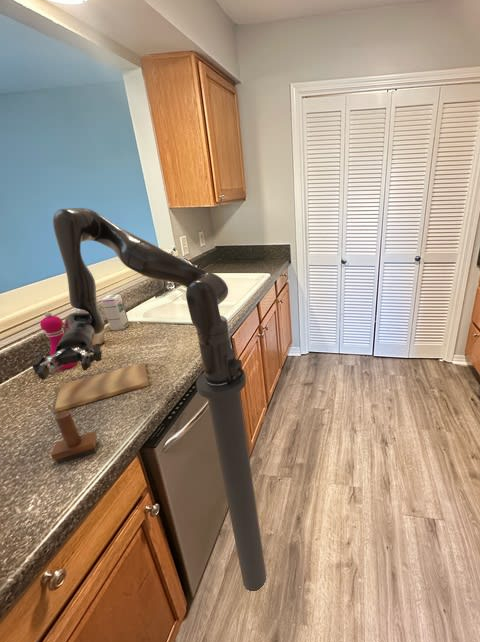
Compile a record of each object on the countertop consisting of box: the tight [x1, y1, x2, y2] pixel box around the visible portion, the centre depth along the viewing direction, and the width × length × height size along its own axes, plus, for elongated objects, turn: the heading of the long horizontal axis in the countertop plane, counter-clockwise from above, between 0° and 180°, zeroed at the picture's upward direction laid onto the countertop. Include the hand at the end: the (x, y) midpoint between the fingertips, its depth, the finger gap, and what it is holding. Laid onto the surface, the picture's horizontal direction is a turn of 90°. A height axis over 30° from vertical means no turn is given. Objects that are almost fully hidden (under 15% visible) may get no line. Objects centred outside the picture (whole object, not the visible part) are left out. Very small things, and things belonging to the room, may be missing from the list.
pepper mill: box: [39, 311, 78, 371], centre depth 110 cm, size 7×7×20 cm
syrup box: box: [101, 293, 130, 331], centre depth 141 cm, size 6×6×14 cm
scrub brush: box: [50, 410, 98, 465], centre depth 73 cm, size 8×4×11 cm, turn 114°
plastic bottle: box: [75, 308, 105, 347], centre depth 125 cm, size 6×7×20 cm
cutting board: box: [54, 362, 150, 413], centre depth 100 cm, size 24×14×1 cm, turn 119°
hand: (63, 371), depth 77 cm, fingers open, 8 cm apart
